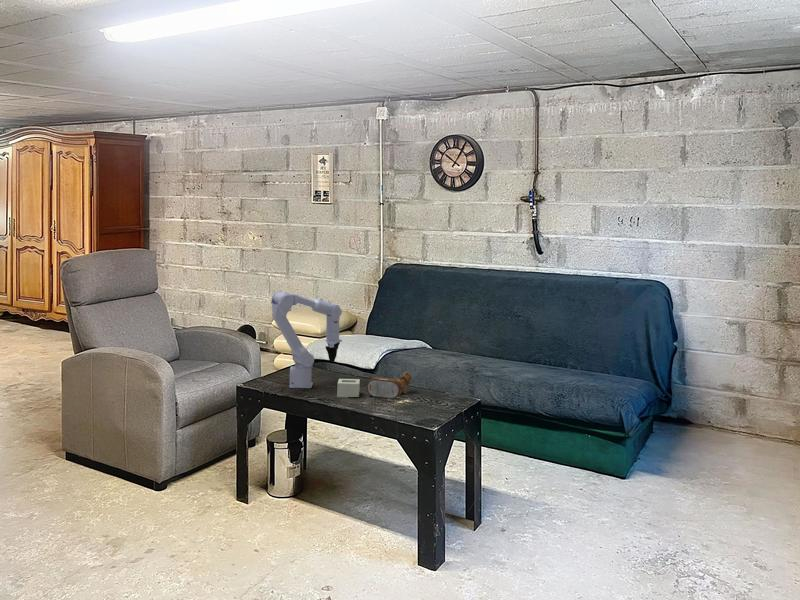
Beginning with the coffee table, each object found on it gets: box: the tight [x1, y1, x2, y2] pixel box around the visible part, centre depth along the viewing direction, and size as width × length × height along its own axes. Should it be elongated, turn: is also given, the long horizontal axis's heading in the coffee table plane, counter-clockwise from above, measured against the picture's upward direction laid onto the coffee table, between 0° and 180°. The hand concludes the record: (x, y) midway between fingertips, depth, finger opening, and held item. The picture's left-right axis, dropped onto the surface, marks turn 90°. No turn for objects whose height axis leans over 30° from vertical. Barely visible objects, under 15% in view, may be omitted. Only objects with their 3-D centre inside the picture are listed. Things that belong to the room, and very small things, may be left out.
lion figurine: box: [396, 371, 412, 395], centre depth 305 cm, size 15×5×9 cm, turn 130°
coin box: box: [336, 378, 361, 398], centre depth 300 cm, size 9×8×6 cm
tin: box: [366, 376, 403, 400], centre depth 298 cm, size 15×3×8 cm, turn 74°
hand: (332, 359), depth 319 cm, fingers open, 7 cm apart
